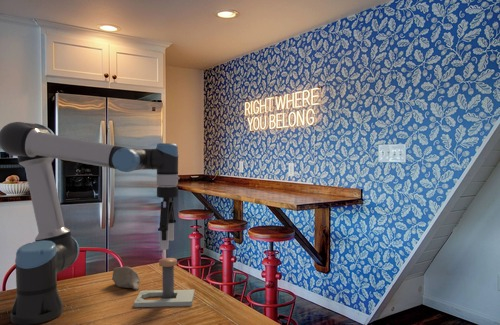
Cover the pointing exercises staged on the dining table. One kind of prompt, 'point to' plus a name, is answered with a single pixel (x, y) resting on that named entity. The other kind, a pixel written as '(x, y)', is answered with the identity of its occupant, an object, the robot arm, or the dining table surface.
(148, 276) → the dining table surface
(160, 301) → the keyhole board
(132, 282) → the decorative stone
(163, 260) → the peg
